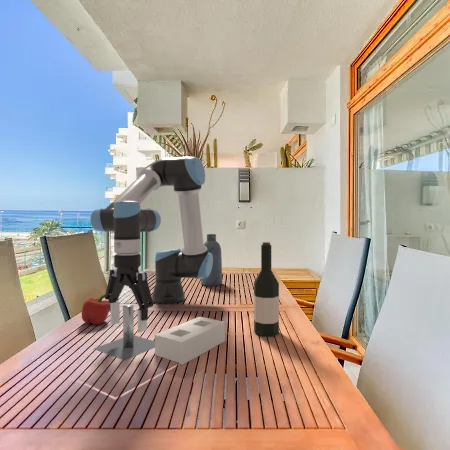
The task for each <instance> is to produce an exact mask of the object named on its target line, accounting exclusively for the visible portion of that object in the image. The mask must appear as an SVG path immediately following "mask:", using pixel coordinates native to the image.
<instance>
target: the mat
mask: <svg viewBox="0 0 450 450" xmlns="http://www.w3.org/2000/svg"><path fill="white" fill-rule="evenodd" d="M152 349H155V340H153V339H148V338H146V337H141V336H138V335H135V334H134V346H133V347H131V348H124V347H123V337H121V338H119V339H115V340H112V341H110V342H108V343H105V344H104V343H103V344H102V345H100V346H96V347H94V348H93V350H95V351H99V352H101V353H103V354H107V355H110V356H112V357H115V358H118V359H120V360H123V361H127V360H129V359H131V358H133V357H136V356H139V355H141V354H143V353H144V352H147V351H149V350H152Z"/></svg>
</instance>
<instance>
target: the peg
mask: <svg viewBox="0 0 450 450" xmlns="http://www.w3.org/2000/svg"><path fill="white" fill-rule="evenodd" d="M134 325H135V323H134V304H130V303H129V304H124V305H122V338H123V347H124V348H131V347H133V346H134V335H135V329H134V328H135V327H134Z"/></svg>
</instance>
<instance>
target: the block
mask: <svg viewBox="0 0 450 450" xmlns="http://www.w3.org/2000/svg"><path fill="white" fill-rule="evenodd" d="M154 341H155V347H154V356H158V357H161V358H163V359H167V360H169V361H173V362H176V363H177V364H179V365H182V366H183V365H185V364H187V363H189V362H190V361H193V360H194V359H195V358H198V357H200V356H201V355H203V354H204V353H206V352H208V351H210V350H212V349H214V348H215V347H218V346H219V345H221V344H223V343H224V342H226V321H222V320H217V319H213V318H209V317H203V316H198V317H195V318H193V319H191V320H188V321H186V322H183V323H181V324H178V325H176V326H173V327H170V328H168V329H166V330H163V331H160V332H158V333H156V334H154Z"/></svg>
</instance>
